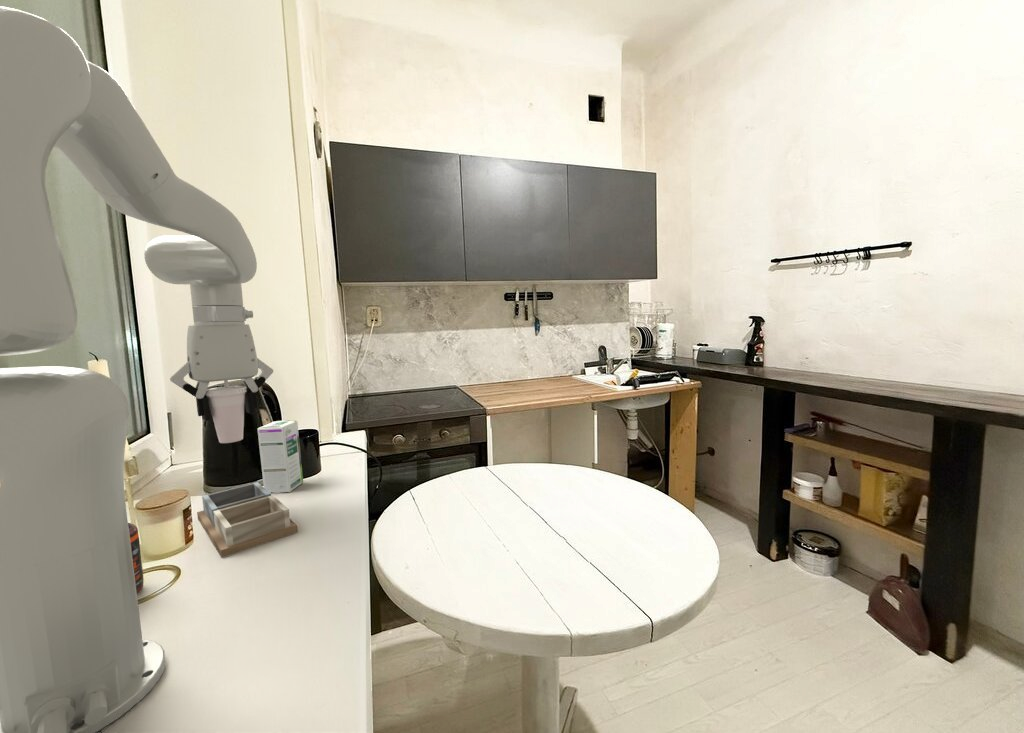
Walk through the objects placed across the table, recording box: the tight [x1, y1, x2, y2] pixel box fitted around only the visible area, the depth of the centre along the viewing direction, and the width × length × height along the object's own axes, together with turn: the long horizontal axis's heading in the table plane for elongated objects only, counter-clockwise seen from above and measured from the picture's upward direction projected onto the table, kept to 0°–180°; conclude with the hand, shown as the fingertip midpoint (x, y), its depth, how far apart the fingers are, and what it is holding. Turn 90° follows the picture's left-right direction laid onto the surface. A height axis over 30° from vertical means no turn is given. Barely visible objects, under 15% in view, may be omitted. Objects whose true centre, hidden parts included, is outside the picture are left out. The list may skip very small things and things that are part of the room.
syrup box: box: [257, 419, 304, 494], centre depth 93 cm, size 6×6×14 cm
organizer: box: [196, 481, 299, 559], centre depth 76 cm, size 20×11×4 cm, turn 45°
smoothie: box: [205, 380, 247, 444], centre depth 77 cm, size 6×6×14 cm
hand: (228, 415), depth 78 cm, fingers closed on smoothie, 6 cm apart
